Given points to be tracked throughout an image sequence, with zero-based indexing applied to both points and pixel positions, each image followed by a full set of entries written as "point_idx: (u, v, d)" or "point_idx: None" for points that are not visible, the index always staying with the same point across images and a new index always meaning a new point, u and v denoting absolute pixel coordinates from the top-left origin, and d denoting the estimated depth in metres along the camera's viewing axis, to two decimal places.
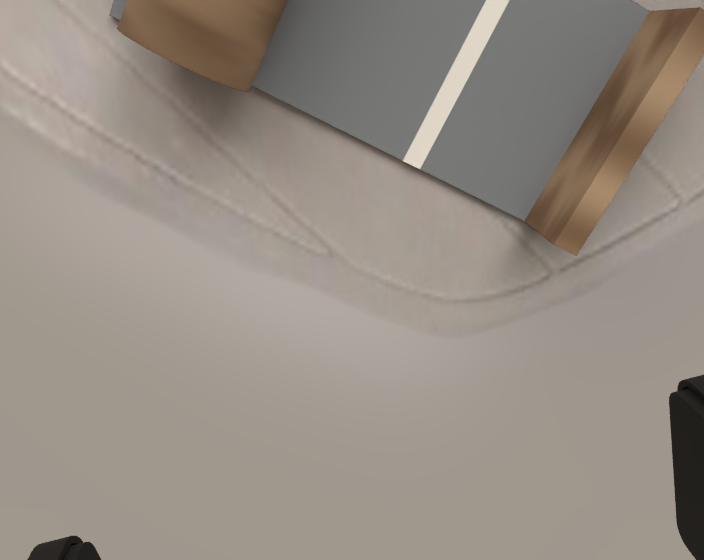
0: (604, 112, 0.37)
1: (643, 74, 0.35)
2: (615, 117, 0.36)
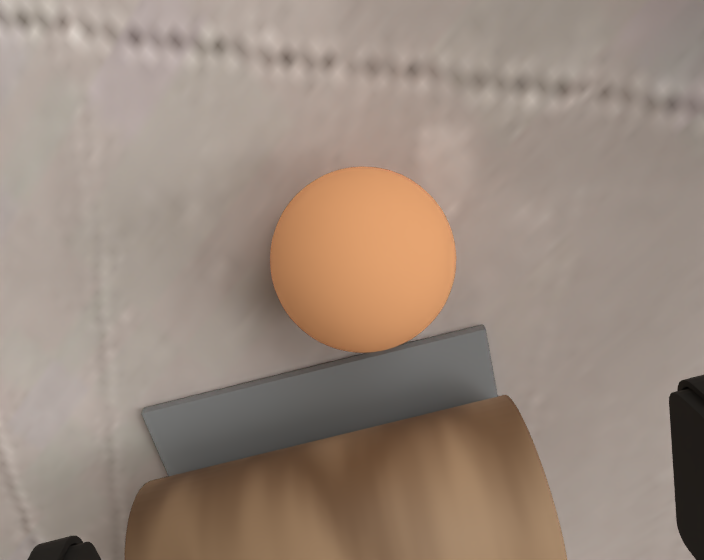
0: None
1: None
2: None
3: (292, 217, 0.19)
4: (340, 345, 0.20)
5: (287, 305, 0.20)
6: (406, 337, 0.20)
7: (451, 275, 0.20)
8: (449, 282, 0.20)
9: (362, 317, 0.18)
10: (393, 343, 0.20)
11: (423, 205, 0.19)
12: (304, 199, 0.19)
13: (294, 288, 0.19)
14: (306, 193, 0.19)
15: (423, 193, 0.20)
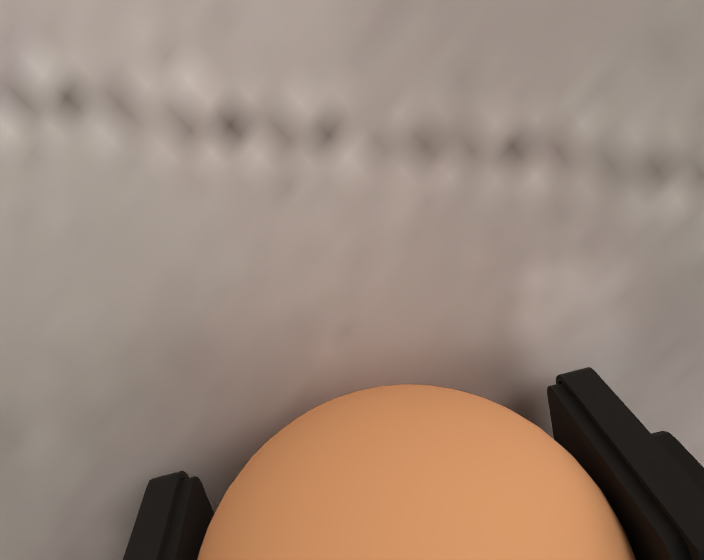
0: None
1: None
2: None
3: None
4: None
5: None
6: None
7: None
8: None
9: None
10: None
11: (591, 542, 0.07)
12: (267, 524, 0.07)
13: None
14: (273, 497, 0.07)
15: (577, 486, 0.08)
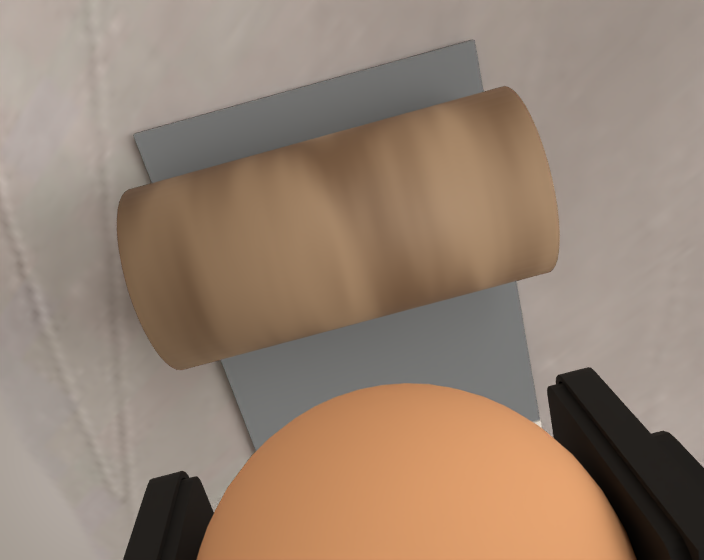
0: None
1: None
2: None
3: None
4: None
5: None
6: None
7: None
8: None
9: None
10: None
11: (593, 541, 0.07)
12: (267, 523, 0.07)
13: None
14: (273, 496, 0.07)
15: (578, 485, 0.08)
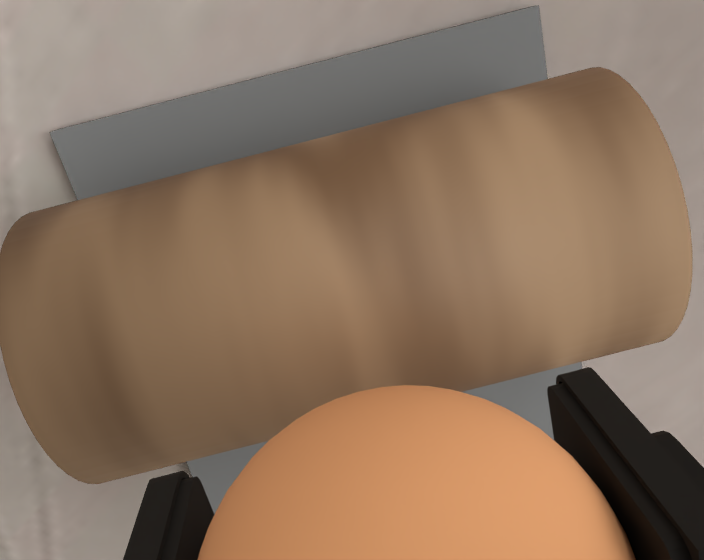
0: None
1: None
2: None
3: None
4: None
5: None
6: None
7: None
8: None
9: None
10: None
11: (591, 543, 0.07)
12: (267, 525, 0.07)
13: None
14: (273, 498, 0.07)
15: (578, 487, 0.08)
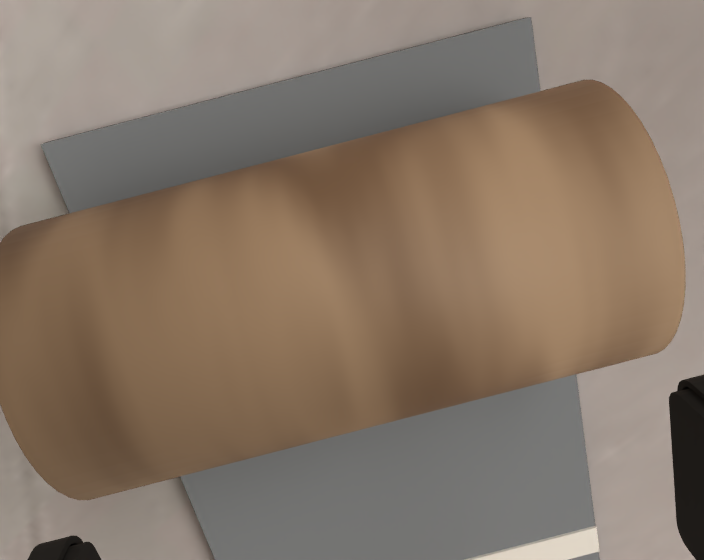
0: None
1: None
2: None
3: None
4: None
5: None
6: None
7: None
8: None
9: None
10: None
11: None
12: None
13: None
14: None
15: None
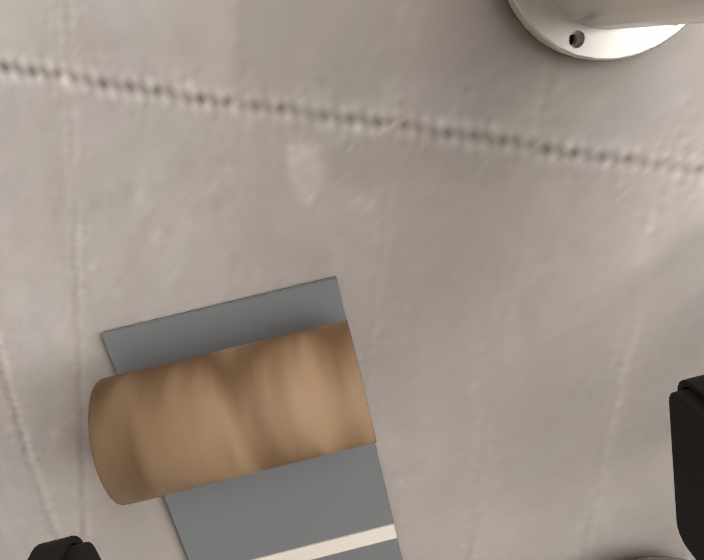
0: None
1: None
2: None
3: None
4: None
5: None
6: None
7: None
8: None
9: None
10: None
11: None
12: None
13: None
14: None
15: None
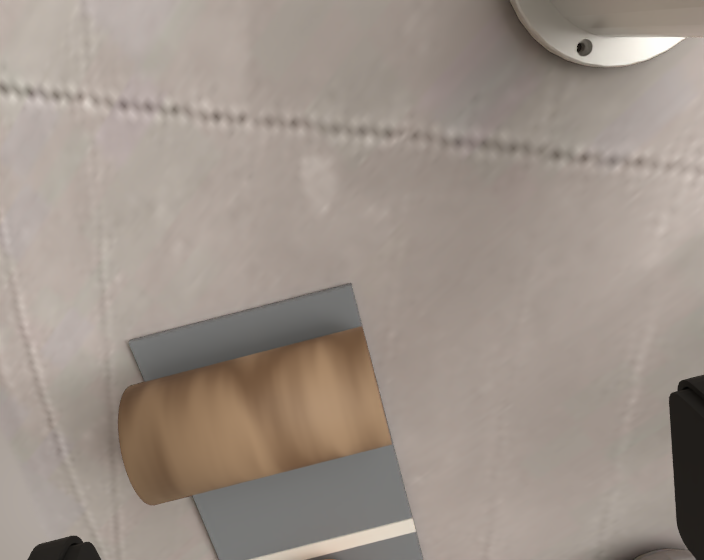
0: None
1: None
2: None
3: None
4: None
5: None
6: None
7: None
8: None
9: None
10: None
11: None
12: None
13: None
14: None
15: None
